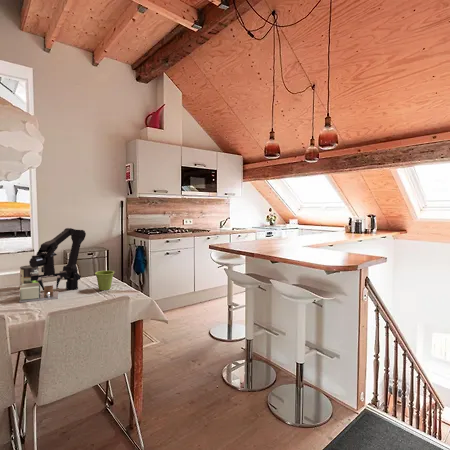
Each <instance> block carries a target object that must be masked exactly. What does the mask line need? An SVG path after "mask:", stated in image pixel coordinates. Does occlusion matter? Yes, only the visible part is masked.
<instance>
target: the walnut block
mask: <svg viewBox="0 0 450 450" xmlns="http://www.w3.org/2000/svg"><path fill="white" fill-rule="evenodd" d="M47 292H50V296H52V295H53V292H54V285H53V284H52V285H44V291H43V293H44V296H46V293H47Z"/></svg>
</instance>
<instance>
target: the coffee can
mask: <svg viewBox="0 0 450 450" xmlns="http://www.w3.org/2000/svg"><path fill="white" fill-rule="evenodd" d="M19 269H20V271H19V272H20V287H21V286H22V284H27V283H38V282H36V280H35V281H31V275H32V274H39V273H40V272H39V267H35V268H32V267H31V266H30V264H29V265H22V266H20V267H19ZM39 275H40V274H39Z"/></svg>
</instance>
